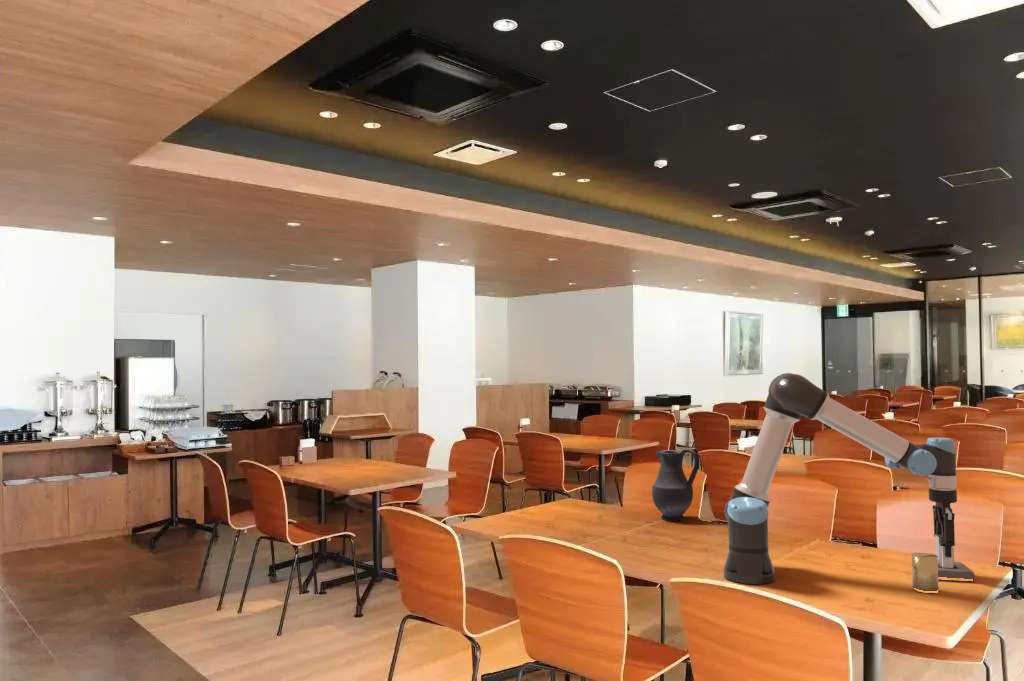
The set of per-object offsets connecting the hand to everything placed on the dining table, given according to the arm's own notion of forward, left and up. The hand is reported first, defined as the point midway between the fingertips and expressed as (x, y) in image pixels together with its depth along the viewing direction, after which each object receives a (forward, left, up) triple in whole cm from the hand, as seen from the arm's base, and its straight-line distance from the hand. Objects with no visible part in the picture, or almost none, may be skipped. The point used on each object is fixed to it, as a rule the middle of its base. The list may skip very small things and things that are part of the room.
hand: (944, 565), depth 229 cm
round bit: (-18, +10, -3) cm, 21 cm away
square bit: (0, 0, -3) cm, 3 cm away
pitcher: (+70, +83, -3) cm, 109 cm away
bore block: (0, 0, -3) cm, 3 cm away
